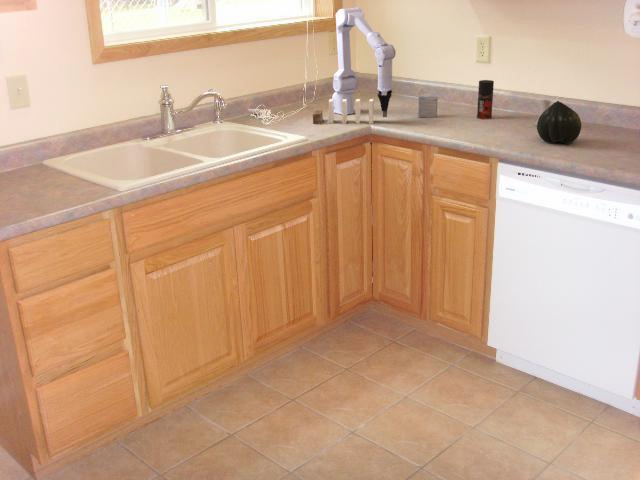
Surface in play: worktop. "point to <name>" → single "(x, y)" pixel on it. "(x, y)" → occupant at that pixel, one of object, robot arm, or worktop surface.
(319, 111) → the block
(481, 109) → the deodorant
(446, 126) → the worktop surface
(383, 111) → the domino
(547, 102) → the flask
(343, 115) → the domino
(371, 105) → the domino
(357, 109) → the domino
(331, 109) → the domino
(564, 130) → the squash
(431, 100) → the medicine box
